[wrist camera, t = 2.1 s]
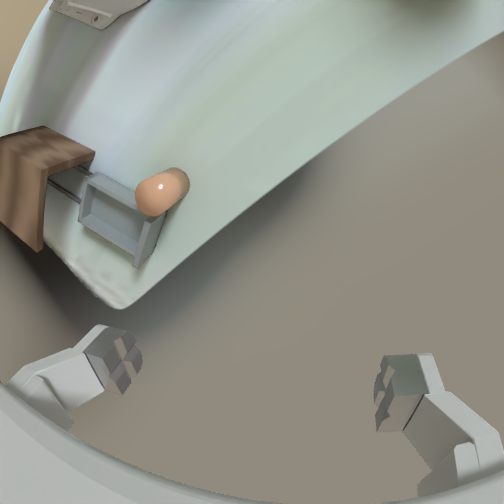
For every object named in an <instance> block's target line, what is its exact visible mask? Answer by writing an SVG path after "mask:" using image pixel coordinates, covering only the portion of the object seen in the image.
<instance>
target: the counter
mask: <svg viewBox="0 0 504 504" xmlns="http://www.w3.org/2000/svg"><path fill="white" fill-rule="evenodd" d="M94 156H95V151H93V150H91V149H89V148H87V147H85V146H83V145H81V144H79V143H77V142H75V141H73V140H71V139H69V138H67V137H65V136H63V135H61V134H59V133H57V132H55V131H53V130H51V129H49V128H47V127H45V126H40V127H36V128H31V129H27V130H23V131H19V132H16V133H12V134H8V135H5V136H2V137H0V221H1V222H2V223H3V224H5V225H6V226H7V227H8V228H9V229H10V230H11V231H12V232H13V233H15V234H16V235H17V236H18V237H19V238H20V239H22V240H23V241H24V242H25V243H26V244H27V245H28V246H30V247H31V248H32V249H33V250H35V251H36V252H37V253H38V252H39V251H40V250H42V249H43V224H44V207H45V195H46V186H47V183H48V184H50V185H51V186H53V187H54V188H56V189H57V190H59V191H60V192H62V193H64V194H65V195H67V196H68V197H70V198H71V199H73V200H75V201H76V202H78V203H79V204H80V203H81V200H80V199H79V198H77V197H76V196H74V195H72V194H71V193H69V192H68V191H66V190H64V189H63V188H61V187H60V186H58V185H56V184H55V183H53V182H52V181H50V180H49V179H47V177H48V176H50V175H53V174H55V173H58V172H60V171H63V170H66V169H68V168H71V167H73V168H75V169H77V170H79V171H80V172H82V173H84V174H86V175H87V176H90V175H92V174H93V173H91V172H89V171H87V170H86V169H84V168H82V167H80V166H78V165H79V164H82V163H85V162H88V161H90V160H93V159H94ZM166 215H167V214H166ZM165 218H166V216H165ZM155 247H156V245H155Z"/></svg>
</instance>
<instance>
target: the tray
mask: <svg viewBox="0 0 504 504" xmlns="http://www.w3.org/2000/svg"><path fill="white" fill-rule="evenodd" d="M167 211H168V210H166V211H165V212H163V213H162V214H161V215H159V216H149V215H146V214H144V213H143V212H142V211H141V210H140V209H139V207H138V206H137V204H136V201H135V192H133V191H131V190H129V189H128V188H126V187H124V186H122V185H120V184H118V183H116V182H115V181H113V180H111V179H109V178H107V177H105V176H104V175H102V174H100V173H98V172H97V173H94V174H92V175H90V176H87V177H85V181H84V186H83V191H82V197H81V203H80V209H79V216H78V222H80V223H81V224H83V225H84V226H86V227H88V228H89V229H91V230H92V231H94V232H95V233H97V234H99V235H100V236H102V237H103V238H105V239H107V240H108V241H110V242H111V243H113V244H115V245H116V246H118V247H120V248H121V249H123V250H125V251H126V252H128V253H130V254H131V255H133V256H135V257H134V261H133V264H132V266H133V267H135V268H137V269H138V268H139V267H140V265H141V264H142V263H143V262H144V261H145V260H146V259H147V258H148V257H149V256H150V255H151V254H152V253H153V251H154V248H155V245H156V242H157V239H158V236H159V233H160V230H161V227H162V225H163V222H164V219H165V216H166V213H167Z"/></svg>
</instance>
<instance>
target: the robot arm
mask: <svg viewBox="0 0 504 504" xmlns="http://www.w3.org/2000/svg"><path fill="white" fill-rule="evenodd" d="M146 1H148V0H54V1H53V3H52V4H51V6H50V7H49V9H50V10H54V11H57V12H60V13H62V14H65V15H67V16H70V17H72V18H75V19H77V20H79V21H82V22H84V23H86V24H88V25H91V26H93V27H95V28H97V29H104V28H106V27H107V26H109V25H110V24H111V23H112V22H113V21H114V20H115V19H116V18H117V17H119V16H120V15H122V14H124V13H126V12H128V11H130V10H133V9H135V8H137V7H138V6H140V5H142V4H143V3H145V2H146ZM97 19H98V20H97ZM135 343H136V339H135V337H134V334H133V333H131V332H128V331H124V330H120V329H116V328H112V327H108V326H104V325H97V326H95V327H94V328H93V329H92V330H91V331H90V332H89V333H88V334H87V335H86V336H85V337H84V338H83V339H82V340H81V341H80V342H79V343H78V344H77V345H76V346H75V347H74V348H73V349H72V348H68V349H66V350H63V351H61V352H58V353H56V354H53V355H51V356H48V357H46V358H43V359H40V360H38V361H35V362H33V363H30V364H28V365H25V366H23V367H22V368H21V369H20V370H19V372H18V373H16V374H15V376H14V377H13V378H12V379H11V380H10V381H9V382H8V383H7V384H6V385H4V384H3V383H2V382H1V381H0V504H281V503H272V502H264V501H257V500H250V499H244V498H239V497H234V496H229V495H224V494H220V493H215V492H211V491H207V490H203V489H200V488H196V487H192V486H188V485H186V484H182V483H179V482H176V481H173V480H170V479H167V478H164V477H161V476H159V475H156V474H153V473H151V472H148V471H145V470H143V469H140V468H138V467H136V466H133V465H131V464H129V463H126V462H124V461H122V460H120V459H118V458H115V457H113V456H111V455H109V454H107V453H105V452H103V451H101V450H99V449H98V448H96V447H94V446H92V445H90V444H88V443H86V442H85V441H83V440H81V439H79V438H78V437H76V436H74V435H73V434H71V433H69V432H68V431H69V429H70V428H71V427H72V425H73V424H74V422H73V419H72V418H71V417H70V416H69V414H68V412H70V411H72V410H73V409H75V408H77V407H78V406H80V405H82V404H83V403H85V402H87V401H88V400H90V399H92V398H93V397H95V396H97V395H98V394H100V393H101V392H103V391H105V390H108V391H111V392H113V393H116V394H119V395H123V394H124V392H125V391H126V389H127V388H128V387H129V385H130V384H131V377H133V376H135V375H137V374H138V372H139V371H140V369H141V366H142V362H143V361H142V354H141V352H140V350H139V349H138V348H137V347H136V346H135ZM380 366H381V372H380V373H379V374H378V375H377V377H376V381H375V385H374V404H375V405H376V406H377V407H378V410H377V412H376V415H375V418H376V428H377V429H376V430H377V433H378V432H396V431H403V433H404V435H405V436H406V437H407V439H408V440H409V441H410V443H411V444H412V445H413V447H414V448H415V449H416V451H417V452H418V453H419V454H420V456H421V457H422V458H423V459H424V461H425V462H426V464H427V465H428V466H429V467H430V469H431V470H432V471H431V472H430V473H429V474H428V475H427V476H426V477H424V478H423V479H422V480H421V481H420V482H419V483H418V484H417V487H418V488H417V489H418V497H416V498H410V499H405V500H399V501H392V502H384V503H375V504H504V450H503V447H502V443H501V440H500V436H499V433H498V431H496V430H495V429H494V428H493V427H492V426H490V425H489V424H488V423H487V422H486V421H485V420H483V419H482V418H481V417H480V416H479V415H477V414H476V413H475V412H474V411H472V410H471V409H470V408H469V407H467V406H466V405H465V404H464V403H463V402H461V401H460V400H459V399H458V398H457V397H456V396H454V395H453V394H452V393H451V392H445V390H444V387H443V384H442V381H441V378H440V375H439V372H438V369H437V367H436V364H435V361H434V359H433V356H432V354H430V353H421V354H408V355H389V356H388V355H387V356H384V357H383V359H382V361H381V365H380ZM104 389H105V390H104Z"/></svg>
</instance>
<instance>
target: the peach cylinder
mask: <svg viewBox="0 0 504 504" xmlns="http://www.w3.org/2000/svg"><path fill="white" fill-rule="evenodd" d="M189 187H190V182H189V178H188V176H187V175H186V173H185V172H184V171H182V170H181V169H179V168H169V169H167V170H165V171H163V172H161V173H158V174H156V175H154V176H152V177H150V178H148V179H146V180H144V181H142V182H141V183H140V184H139V185H138V186H137V188H136V191H135V201H136V204H137V206H138V207H139V209H140V210H141V211H142V212H143V213H144V214H146V215H149V216H159V215H161V214H162V213H163V212H165V211H166V210H167V209H169V208H170V207H171V206H172V205H174V204H175V203H176V202H178V201H179V200H180V199H182V198H183V197H184V196H185V195H186V194H187V193H188V191H189Z"/></svg>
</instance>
